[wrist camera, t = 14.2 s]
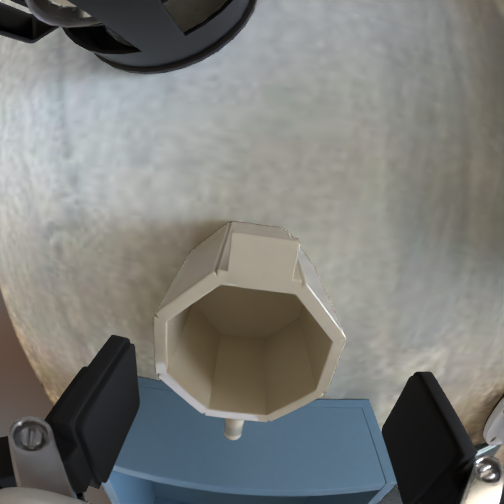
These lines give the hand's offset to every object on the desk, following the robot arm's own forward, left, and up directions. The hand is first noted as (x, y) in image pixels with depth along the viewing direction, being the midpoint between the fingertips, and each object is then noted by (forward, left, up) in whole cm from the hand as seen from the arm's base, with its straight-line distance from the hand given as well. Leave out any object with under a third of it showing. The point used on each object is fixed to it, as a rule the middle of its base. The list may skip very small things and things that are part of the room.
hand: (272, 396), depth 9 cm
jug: (0, -1, -8) cm, 8 cm away
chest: (+13, +10, -8) cm, 18 cm away
